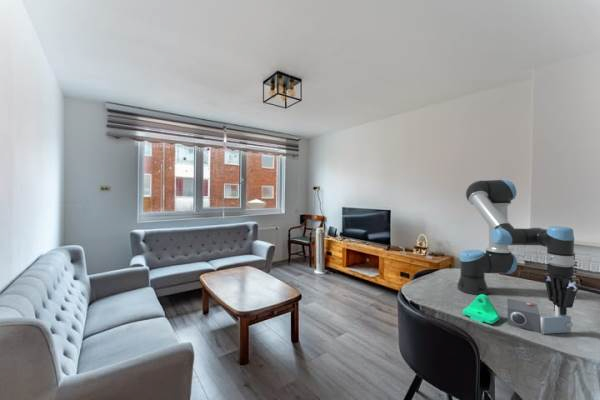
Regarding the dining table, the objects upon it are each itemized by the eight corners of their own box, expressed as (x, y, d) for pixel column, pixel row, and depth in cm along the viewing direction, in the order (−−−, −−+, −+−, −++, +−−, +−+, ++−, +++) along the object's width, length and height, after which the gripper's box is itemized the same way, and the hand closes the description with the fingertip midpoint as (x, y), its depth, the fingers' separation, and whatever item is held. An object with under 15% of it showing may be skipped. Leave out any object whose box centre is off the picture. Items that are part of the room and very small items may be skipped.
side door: (539, 332, 100) (539, 316, 100) (568, 331, 101) (568, 315, 101) (543, 334, 99) (543, 318, 99) (572, 333, 99) (572, 316, 99)
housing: (507, 326, 106) (507, 307, 106) (507, 314, 116) (507, 297, 116) (540, 334, 99) (540, 314, 99) (537, 320, 109) (537, 302, 109)
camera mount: (461, 315, 116) (461, 294, 116) (469, 311, 120) (469, 290, 120) (492, 326, 106) (491, 303, 106) (499, 321, 110) (499, 298, 110)
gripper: (536, 260, 108) (536, 313, 108) (565, 269, 95) (565, 329, 95) (555, 260, 107) (555, 314, 107) (587, 269, 94) (587, 330, 94)
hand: (560, 321), depth 101 cm, fingers closed
